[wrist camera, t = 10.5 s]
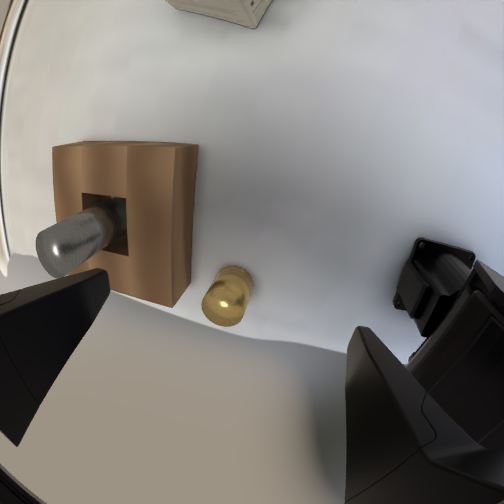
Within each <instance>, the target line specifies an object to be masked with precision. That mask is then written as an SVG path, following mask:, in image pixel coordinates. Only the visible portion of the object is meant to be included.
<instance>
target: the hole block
mask: <svg viewBox="0 0 504 504" xmlns="http://www.w3.org/2000/svg"><path fill="white" fill-rule="evenodd" d="M197 153H198V145H196V144H183V143H167V142H144V141H83V142H76V143H71V144H65V145H60V146H55V147H52V160H53V187H54V201H55V212H56V221H57V223H59V222H61V221H63V220H65V219H67V218H69V217H71V216H73V215H75V214H77V213H79V212H81V211H83V210H85V209H87V208H90V207H92V206H94V205H96V204H98V203H101V202H103V201H105V200H107V199H110V198H111V196H114V197H122V198H126V210H127V233H126V234H124V235H123V236H121V237H120V238H118V239H117V240H115V241H114V242H112V243H111V244H109V245H108V246H106V247H105V248H103V249H102V250H100V251H99V252H98V253H96V254H95V255H93V256H92V257H90V258H89V259H88V260H86V261H85V262H83V263H82V264H81V265H79V266H78V267H76V268H75V269H74V270H72V271H71V272H70V273H68V274H67V275H73V274H77V273H80V272H84V271H88V270H91V269H95V268H100V269H104V270H106V271H107V272H108V276H109V283H110V290H113V291H116V292H119V293H123V294H126V295H129V296H132V297H136V298H139V299H142V300H146V301H149V302H153V303H156V304H160V305H163V306H167V307H171V308H173V307H174V305H175V304H176V302H177V301H178V300H179V298H180V297H181V295H182V294H183V293H184V291H185V290H186V289H187V287H188V286H189V284H190V282H191V246H192V224H193V206H194V190H195V177H196V164H197Z"/></svg>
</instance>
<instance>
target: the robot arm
mask: <svg viewBox="0 0 504 504" xmlns="http://www.w3.org/2000/svg"><path fill="white" fill-rule="evenodd" d="M422 242H423V245H422V246H420V247H419V245H420V243H422ZM470 256H471V258H470V259H469V257H470ZM474 260H475V254H474V253H473V252H472V251H469V250H466V249H462V248H458V247H455V246H451V245H448V244H444V243H440V242H437V241H433V240H429V239H425V238H418V239H417V240H416V242H415V245H414V248H413V251H412V254H411V256H410V259H409V261H408V262H407V263H406V265H405V268H404V271H403V273H402V276H401V279H400V281H399V284H398V286H397V290H398V291H397V293H396V296H395V298H394V301H393V305H394V307H395V308H396V309H400V310H406V311H407V312H408V314H409V316H410V318H412V319H414V320H415V323H416V325H417V327H418V329H419V332H420V334H421V336H422V337H427V338H426V339H425V341H424V342H423V343H422V344H421V346H420V347H419V348H418V349H417V351H416V352H413V353H412V355H411V356H410V357H409V363H408V364H407V366H406V368H405V367H404V366H403V364H402V363H401V362H400V361H399V360H398V359H397V358H396V357H395V356H394V354H393V353H392V352H391V351H390V350H389V349H388V348H387V347H386V346H385V344H384V343H383V342H382V341H381V340H380V339H379V338H378V337H377V336H376V335H375V334H374V332H373V331H372V330H371V329H370V328H368V327H363V326H358V327H356V329H355V331H354V333H353V335H352V338H351V340H350V342H349V345H348V349H347V367H346V381H345V400H346V440H347V441H346V450H347V451H346V452H347V453H346V489H345V504H504V277H503V276H502V275H500V274H499V273H497V272H496V271H494V270H493V269H491V268H490V267H488V266H486V265H485V264H483V263H482V262H480V261H479V260H476V262H475V264H474V265H473V263H474ZM472 266H473V267H474V268H473V270H472V271H471V268H472ZM109 294H110V283H109V276H108V272H107V271H106V270H104V269H100V268H95V269H91V270H88V271H84V272H80V273H77V274H73V275H69V276H66V277H62V278H58V279H55V280H51V281H48V282H45V283H41V284H37V285H34V286H30V287H27V288H23V289H20V290H17V291H13V292H9V293H6V294H2V295H0V432H1V433H3V435H4V436H5V437H7V438H8V439H9V440H10V441H11V442H12V443H13V444H14V445H15V446H16V447H17V446H18V445H19V444H20V442H21V440H22V438H23V436H24V434H25V432H26V430H27V428H28V427H29V425H30V423H31V421H32V419H33V417H34V415H35V414H36V412H37V410H38V408H39V406H40V404H41V403H42V401H43V399H44V398H45V396H46V394H47V393H48V391H49V389H50V387H51V386H52V384H53V383H54V381H55V379H56V378H57V376H58V374H59V373H60V371H61V370H62V368H63V367H64V365H65V364H66V362H67V360H68V359H69V357H70V356H71V354H72V353H73V351H74V350H75V348H76V347H77V345H78V344H79V343H80V341H81V340H82V338H83V337H84V335H85V334H86V332H87V331H88V329H89V328H90V327H91V325H92V323H93V322H94V320H95V318H96V317H97V315H98V313H99V311H100V310H101V308H102V306H103V305H104V303H105V301H106V299H107V298H108V296H109ZM398 302H401V303H400V304H397V303H398ZM0 504H46V503H45V502H44V501H43V500H41V499H40V498H39V497H37V496H36V495H35V494H34V493H32V492H31V491H30V490H29V489H28V488H26V487H25V486H24V485H23V484H22V483H20V482H19V481H18V480H17V479H16V478H15V477H14V476H13V475H12V474H11V473H9V472H8V471H7V470H6V469H5V468H4V467H3V466H2V465H1V464H0Z"/></svg>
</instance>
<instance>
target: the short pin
mask: <svg viewBox="0 0 504 504" xmlns="http://www.w3.org/2000/svg"><path fill="white" fill-rule="evenodd" d="M252 289H253V279H252V277H251V275H250V274H249V273H248V272H247V271H246V270H244V269H243V268H241V267H237V266H228V267H225V268H223V269H222V270H221V271H220V272H219V273H218V275H217V277H216V278H215V280H214V282H213V283H212V285H211V287H210V288H209V290H208V291H207V293H206V295H205V296H204V298H203V300H202V310H203V313H204V315H205V316H206V317H207V318H208V319H209V320H210V321H211V322H213V323H215V324H217V325H220V326H225V327H229V326H234V325H236V324H238V323H239V322H240V321H241V319H242V317H243V315H244V312H245V309H246V306H247V304H248V301H249V298H250V295H251V292H252Z"/></svg>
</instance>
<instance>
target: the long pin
mask: <svg viewBox="0 0 504 504" xmlns="http://www.w3.org/2000/svg"><path fill="white" fill-rule="evenodd" d="M126 233H127V210H126V198H122V197H112V198H110V199H107V200H105V201H103V202H101V203H98V204H96V205H94V206H92V207H90V208H87V209H85V210H83V211H81V212H79V213H77V214H75V215H73V216H71V217H69V218H67V219H65V220H63V221H61V222H59V223H57V224H55V225H53V226H51V227H49V228H47V229H45V230H43V231H41V232H40V233H39V234H38V235H37V238H36V251H37V255H38V258H39V260H40V262H41V264H42V266H43V267H44V268H45V270H46V271H47V272H48V273H49V274H50V275H51V276H53V277H55V278H62V277H64V276H66V275H67V274H68V273H70V272H71V271H72V270H74V269H75V268H76V267H78V266H79V265H81V264H82V263H83V262H85V261H86V260H88V259H89V258H90V257H92V256H93V255H95V254H96V253H98V252H99V251H100V250H102V249H103V248H105V247H106V246H108V245H109V244H111V243H112V242H114V241H115V240H117V239H118V238H120V237H121V236H123V235H124V234H126Z"/></svg>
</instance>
